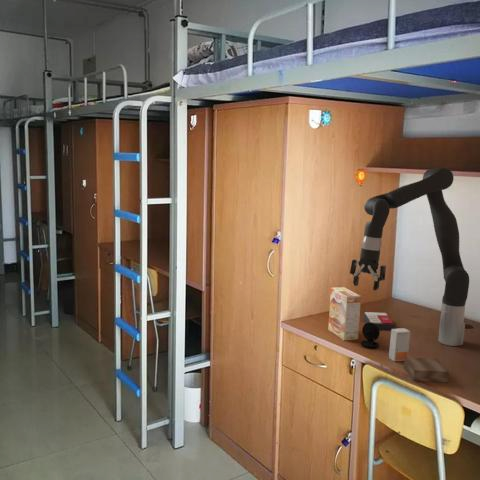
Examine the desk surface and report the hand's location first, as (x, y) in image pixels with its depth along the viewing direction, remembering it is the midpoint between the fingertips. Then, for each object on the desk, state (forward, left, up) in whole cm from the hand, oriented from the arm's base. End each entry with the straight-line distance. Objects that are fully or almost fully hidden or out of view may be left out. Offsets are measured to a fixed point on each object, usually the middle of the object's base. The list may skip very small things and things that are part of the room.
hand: (365, 287), depth 220 cm
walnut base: (-18, +25, -25) cm, 40 cm away
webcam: (-4, -3, -26) cm, 26 cm away
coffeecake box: (+5, -16, -26) cm, 30 cm away
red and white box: (-15, -32, -26) cm, 44 cm away
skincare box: (-12, +11, -26) cm, 31 cm away
